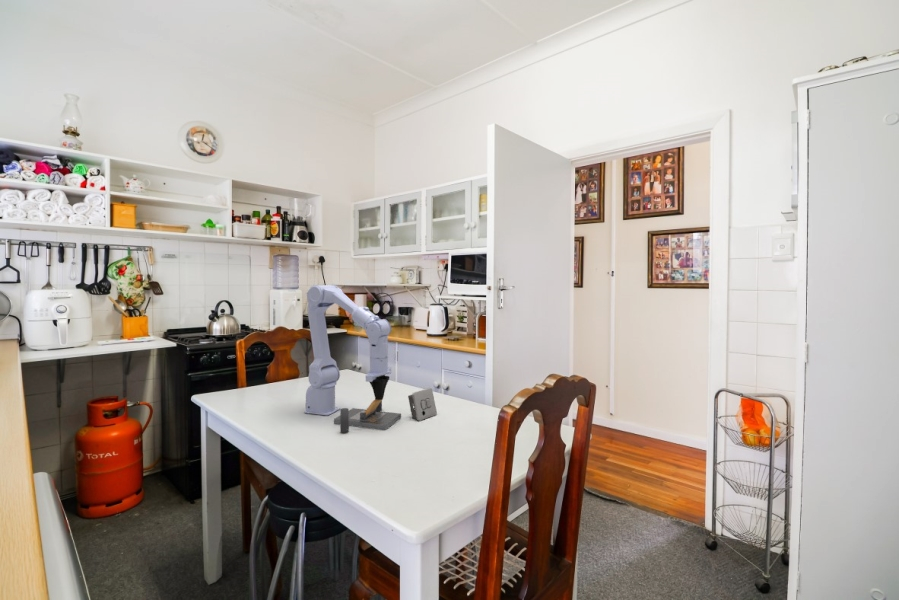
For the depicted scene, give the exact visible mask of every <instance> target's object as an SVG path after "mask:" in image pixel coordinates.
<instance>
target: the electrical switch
mask: <svg viewBox="0 0 899 600" xmlns="http://www.w3.org/2000/svg"><path fill="white" fill-rule="evenodd" d="M407 399H408V402H409V403H408V404H409V408H410V412H411V414H410V415H411V419H413V420H414V419H416V420H417V422H420V421H423V420H426V419H428V418H431V417H434V416H436V415H437V414H438V412H437V406H436V401H435V397H434V391H433V388H431V387H428V388H425V389H422V390H421V389H420V390H418V391H414V392H412V394H410V395H408V397H407Z"/></svg>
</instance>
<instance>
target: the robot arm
mask: <svg viewBox="0 0 899 600" xmlns="http://www.w3.org/2000/svg"><path fill="white" fill-rule="evenodd" d="M306 299H307V315H308V323H309V331H310V338H311V345H312V352H313V361H312V362H311V364H310V365H309V366H308V368H309V369H308V371H309V374H308V376H307V377H308V383H309V384H310V385H309V386H308V387H307V389H306V392H305V410H304V412H303V413H305V414H313V415H320V416H321V415H322V416H330V415H332V414H333V413H336V412H338V411H339V410H340V409H341V407H336V386H337V382H338V381H339V380H340V377H341V372H340V370H339V369H340V368H339V367H338V365H337V361H336V359H334V358H332V357H331V350H330V343H329V338H328V337H329V336H328V335H329V334H328V329H327V322H326V321H327V320H326V315H325V313H326V312H327V310H328V309H329V308H330V307H331V306H333V305H334V304H336V305H337V306H338V307H340V308H341V309H343V310H344V311H346V312H347V313H349V314H350V315H351V318H352V321H353V322H354V323H356V325H358V326H359V327H361V328H362V329H363V330H364V331H365V334H366V336H367V338H368V344H369V371H368V373H367V374H365V382H367V383H368V382H369V384H370V386H371V388H372V391H373V395H374V400H375V399H377V400H382V399H383V400H384V396H385V392H386V387H387V385H388V382H389V381H390V376H389V375H390V374H392V366H389V364H388V363H389V361H388V360H389V359H388V358H389V357H388V356H389V353H388V352H389V351H388V349H389V345H388V344H389V343H388V342H389V338H388V336H390V334H391V331H392V326H391V324H390V322H389V321H388V320H387V319H385V318H383V319H381V318H380V316H378V315H376V314H374V313H373V312H372V311H370V308H369V307H368V306H359V305H357V304H356V303H355V302H354V301H353V300H352V299H351V298H349V297H348V296H347V295H346V294H345V293H344V292H343V290H342V288H339V286H337V285H335V284H329V285H328V284H327V285H326V284H325V285H323V284H322V285H321V284H320V285H319V284H313V285H311V286H310V287H309V289H308V290H307V292H306ZM383 400H382V401H383Z"/></svg>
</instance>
